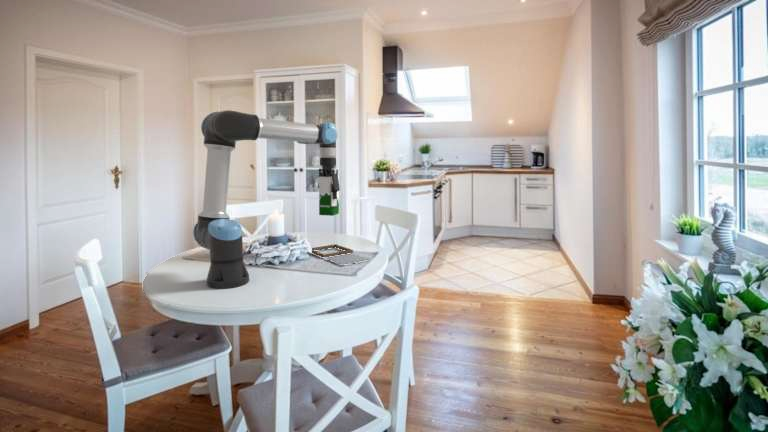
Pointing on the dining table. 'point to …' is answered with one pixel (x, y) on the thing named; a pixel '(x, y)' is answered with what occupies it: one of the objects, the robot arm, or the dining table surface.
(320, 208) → the soya milk
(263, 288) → the dining table surface
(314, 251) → the walnut collar
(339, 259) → the grey mat
